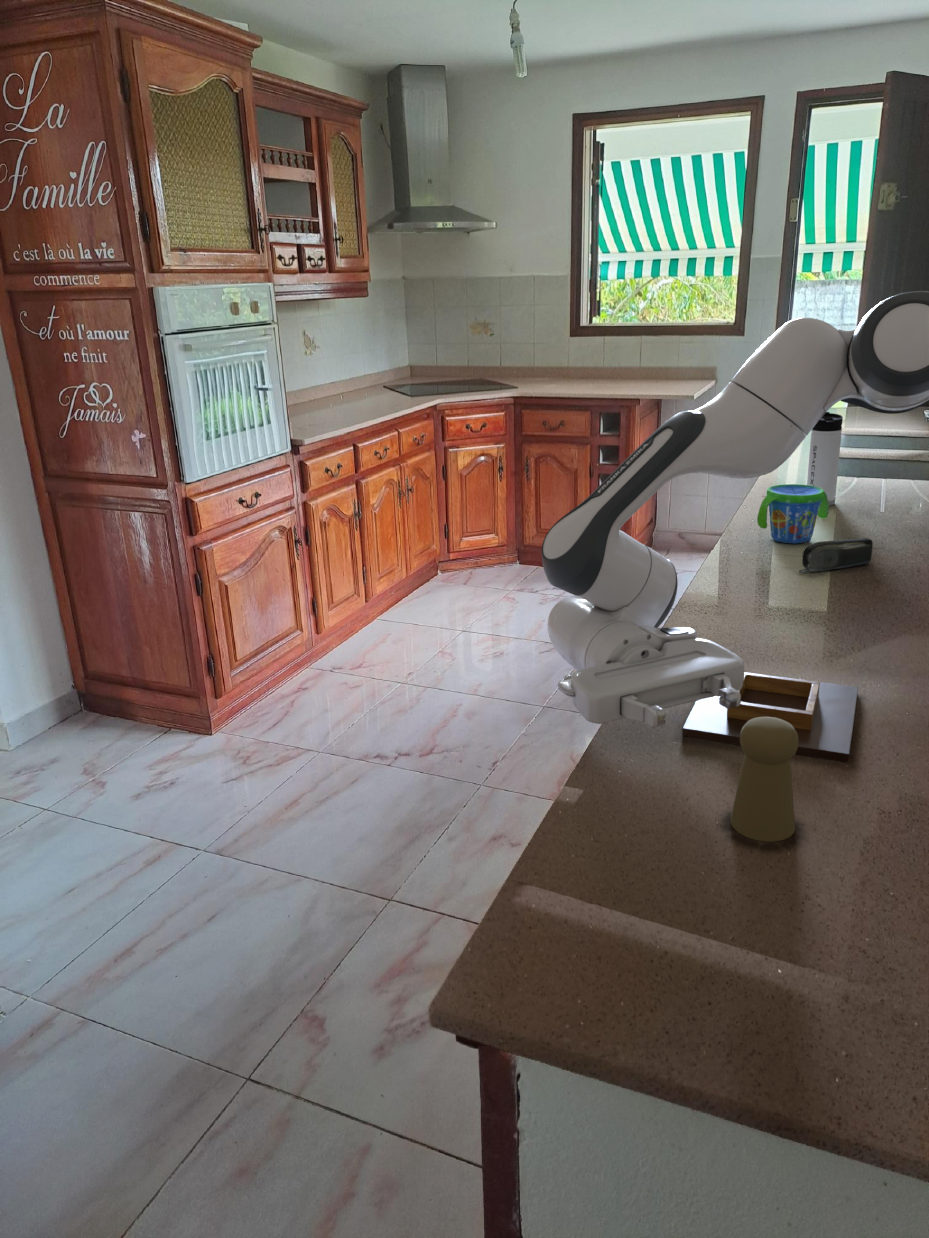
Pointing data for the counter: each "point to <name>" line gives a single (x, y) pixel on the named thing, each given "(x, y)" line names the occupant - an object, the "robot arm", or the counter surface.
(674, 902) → the counter surface
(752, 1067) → the counter surface
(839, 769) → the counter surface
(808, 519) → the snack cup
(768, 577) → the counter surface
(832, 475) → the travel mug
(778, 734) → the cork
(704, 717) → the pad
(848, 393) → the robot arm
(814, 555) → the dark grey stapler
